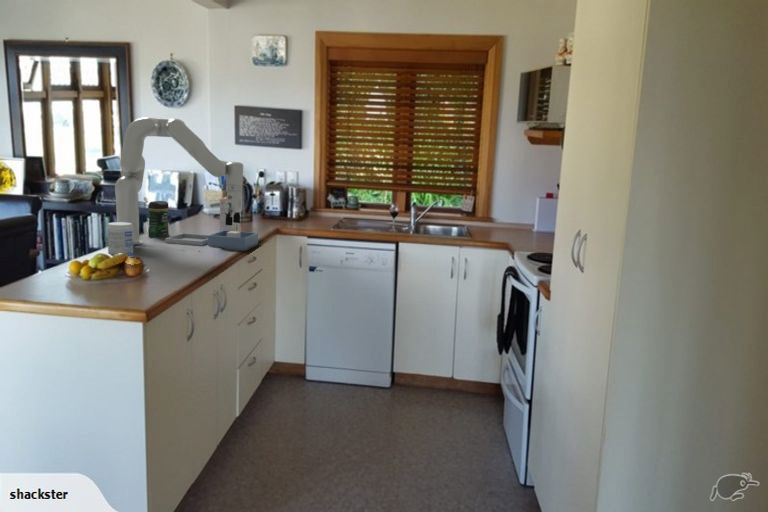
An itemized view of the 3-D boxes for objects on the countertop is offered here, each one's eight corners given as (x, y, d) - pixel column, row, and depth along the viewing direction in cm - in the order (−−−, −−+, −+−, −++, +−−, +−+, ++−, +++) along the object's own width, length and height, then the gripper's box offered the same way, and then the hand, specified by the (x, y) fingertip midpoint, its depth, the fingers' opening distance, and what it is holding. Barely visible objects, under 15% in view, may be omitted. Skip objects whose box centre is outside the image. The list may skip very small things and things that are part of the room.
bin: (245, 251, 284) (245, 238, 283) (208, 247, 286) (208, 235, 285) (257, 244, 302) (258, 233, 300) (223, 241, 304) (223, 230, 303)
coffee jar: (159, 240, 299) (158, 202, 295) (145, 238, 301) (145, 200, 297) (171, 237, 308) (171, 200, 304) (158, 235, 310) (158, 199, 307)
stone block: (236, 245, 291) (236, 233, 290) (226, 244, 291) (226, 232, 290) (240, 244, 296) (240, 231, 295) (230, 243, 296) (230, 231, 295)
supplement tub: (131, 261, 249) (130, 225, 246) (106, 260, 247) (105, 224, 244) (135, 256, 258) (134, 222, 256) (110, 256, 256) (110, 221, 254)
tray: (201, 247, 286) (201, 241, 285) (165, 244, 288) (165, 238, 287) (216, 241, 303) (216, 235, 303) (182, 238, 305) (182, 232, 305)
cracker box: (227, 234, 326) (227, 195, 322) (238, 235, 325) (239, 196, 321) (218, 238, 312) (219, 198, 308) (230, 239, 312) (231, 198, 308)
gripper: (235, 190, 280) (233, 226, 283) (248, 187, 297) (246, 222, 300) (219, 188, 281) (218, 225, 284) (233, 186, 297) (232, 221, 301)
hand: (232, 223), depth 292 cm, fingers open, 9 cm apart
